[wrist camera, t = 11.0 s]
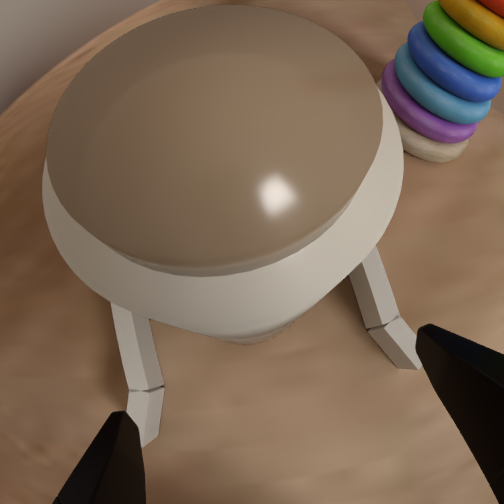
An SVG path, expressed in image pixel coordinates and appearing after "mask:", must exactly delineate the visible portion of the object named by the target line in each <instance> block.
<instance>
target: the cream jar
mask: <svg viewBox="0 0 504 504" xmlns="http://www.w3.org/2000/svg"><path fill="white" fill-rule="evenodd" d="M403 171H404V162H403V146H402V141H401V136H400V132H399V128H398V125H397V123H396V120H395V117H394V115H393V112H392V110H391V108H390V106H389V105H388V103H387V101H386V99H385V97H384V96H383V94H382V93H381V91H380V90H379V89H378V87H377V86H376V84H375V81H374V79H373V77H372V75H371V73H370V72H369V70H368V69H367V67H366V65H365V64H364V63H363V61H362V60H361V59H360V58H359V57H358V55H357V54H356V53H355V52H354V51H353V50H352V49H351V48H350V47H349V46H348V45H347V44H346V43H344V42H343V41H342V40H341V39H339V38H338V37H337V36H335V35H334V34H333V33H331V32H330V31H328V30H326V29H324V28H323V27H321V26H319V25H317V24H315V23H313V22H311V21H309V20H306V19H304V18H302V17H299V16H296V15H293V14H290V13H287V12H284V11H279V10H275V9H271V8H265V7H258V6H248V5H216V6H206V7H199V8H194V9H188V10H184V11H180V12H176V13H172V14H169V15H166V16H163V17H160V18H157V19H155V20H152V21H150V22H148V23H145V24H143V25H141V26H139V27H137V28H135V29H133V30H131V31H129V32H128V33H126V34H124V35H122V36H121V37H119V38H118V39H116V40H115V41H113V42H112V43H110V44H109V45H108V46H106V47H105V48H104V49H103V50H101V51H100V52H99V53H98V54H97V55H95V56H94V57H93V58H92V59H91V60H90V61H89V62H88V63H87V64H86V65H85V66H84V67H83V68H82V69H81V71H80V72H79V73H78V74H77V75H76V77H75V78H74V79H73V80H72V82H71V83H70V85H69V86H68V88H67V89H66V91H65V92H64V94H63V96H62V97H61V99H60V101H59V103H58V105H57V107H56V110H55V112H54V115H53V118H52V121H51V123H50V128H49V133H48V137H47V149H46V159H45V164H44V171H43V178H42V199H43V206H44V213H45V218H46V221H47V225H48V228H49V231H50V234H51V237H52V239H53V241H54V243H55V245H56V247H57V249H58V251H59V253H60V254H61V256H62V257H63V259H64V260H65V261H66V263H67V264H68V265H69V267H70V268H71V269H72V271H73V272H74V273H75V274H76V275H77V276H78V277H79V278H80V279H81V280H82V281H83V282H84V283H85V284H86V285H87V286H88V287H90V288H91V289H92V290H93V291H95V292H96V293H98V294H99V295H101V296H102V297H104V298H105V299H107V300H108V301H110V302H111V303H113V304H115V305H117V306H119V307H122V308H124V309H126V310H128V311H130V312H133V313H135V314H137V315H140V316H143V317H146V318H149V319H152V320H155V321H158V322H162V323H165V324H168V325H171V326H174V327H178V328H181V329H184V330H188V331H191V332H194V333H198V334H201V335H205V336H208V337H212V338H215V339H219V340H223V341H226V342H230V343H235V344H242V345H251V344H258V343H262V342H265V341H268V340H270V339H272V338H274V337H276V336H277V335H279V334H280V333H282V332H283V331H284V330H285V329H287V328H288V327H289V326H290V325H291V324H292V323H294V322H295V321H296V320H297V319H298V318H300V317H301V316H302V315H303V314H304V313H305V312H307V311H308V310H309V309H310V308H311V307H312V306H314V305H315V304H316V303H317V302H318V301H319V300H320V299H322V298H323V297H324V296H325V295H326V294H327V293H328V292H330V291H331V290H332V289H333V288H334V287H335V286H336V285H337V284H338V283H340V282H341V281H342V280H343V279H344V278H345V277H346V276H347V275H348V274H349V273H350V272H351V271H352V270H353V269H354V268H355V267H357V266H358V265H359V264H360V263H361V262H362V261H363V260H364V259H365V258H366V257H367V256H368V254H369V253H370V252H371V250H372V249H373V248H374V246H375V245H376V243H377V242H378V241H379V239H380V238H381V237H382V235H383V234H384V232H385V230H386V228H387V226H388V224H389V222H390V220H391V218H392V216H393V214H394V212H395V208H396V205H397V202H398V199H399V195H400V192H401V187H402V179H403Z"/></svg>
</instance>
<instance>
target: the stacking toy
mask: <svg viewBox="0 0 504 504" xmlns="http://www.w3.org/2000/svg"><path fill="white" fill-rule="evenodd" d="M503 76H504V0H437V1H433V2H431V3H430V4H428V6H427V7H426V8H425V11H424V14H423V21H422V22H419V23H417V24H416V25H414V26H413V27H412V29H411V30H410V32H409V34H408V42H406V43H404V44H403V45H402V46H401V47H400V48H399V49H398V51H397V53H396V55H395V59H393V60H392V61H390V62H389V63H388V64H387V65H386V67H385V69H384V71H383V74H382V78H381V79H380V80H379V81H378V82H377V83H376V86H377V87H378V89H379V90H380V91H381V93H382V94H383V96H384V97H385V99H386V101H387V103H388V105H389V106H390V108H391V110H392V112H393V115H394V117H395V120H396V123H397V125H398V128H399V132H400V136H401V141H402V146H403V150H404V151H406V152H408V153H409V154H411V155H413V156H415V157H418V158H420V159H423V160H426V161H431V162H439V163H441V162H448V161H451V160H454V159H456V158H457V157H459V156H460V155H461V154H462V153H463V152H464V150H465V148H466V147H467V144H468V140H469V137H471V136H472V135H473V133H474V132H475V131H476V129H477V126H478V122H479V121H481V120H482V119H483V118H484V117H485V116H486V115H487V113H488V112H489V109H490V105H491V99H492V98H494V97H495V96H496V95H497V93H498V92H499V90H500V87H501V77H503Z"/></svg>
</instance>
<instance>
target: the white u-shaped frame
mask: <svg viewBox="0 0 504 504" xmlns="http://www.w3.org/2000/svg"><path fill="white" fill-rule="evenodd" d="M348 275H349V277H350V280H351V283H352V286H353V289H354V292H355V296H356V299H357V302H358V305H359V308H360V311H361V314H362V318H363V321H364V324H365V327H366V329H367V328H371V329H370V330H369V331H368V333H369V334H370V336H371V337H372V338H373V339H374V340H375V342H376V343H377V344H378V345H379V346H380V347H381V349H382V350H383V351H384V352H385V353H386V355H387V356H388V357H389V358H390V359H391V361H392V362H393V363H394V364H395V365H396V367H397V368H399V369H412V370H419V369H420V368H421V366H422V363H421V361H420V359H419V357H418V355H417V353H416V350H415V344H416V338H417V336H416V335H415V334H414V332H413V331H412V330H411V329H410V328H409V326H408V325H407V324H406V323H405V321H404V320H403V319H402V318H401V317H400V314H399V311H398V308H397V305H396V302H395V299H394V296H393V293H392V290H391V287H390V284H389V281H388V278H387V275H386V272H385V269H384V266H383V264H382V261H381V258H380V255H379V253H378V250H377V247H376V245H375V246H374V248H373V249H372V250H371V252H370V253H369V254H368V256H367V257H366V258H365V259H364V260H363V261H362V262H361V263H360V264H359V265H358V266H357V267H355V268H354V269H353V270H352V271H351V272H350V273H349V274H348ZM111 308H112V314H113V320H114V325H115V330H116V335H117V340H118V345H119V350H120V354H121V359H122V363H123V368H124V372H125V376H126V380H127V384H128V388H129V396H128V404H127V413H128V415H129V416H130V417H131V418H132V420H133V421H134V422H135V423H136V425H137V426H138V428H139V433H140V441H141V447H144V446H145V445H147V444H148V443H149V442H150V441H152V440H153V439H154V438H156V437H157V436H158V434H159V426H160V418H161V411H162V404H163V397H164V390H165V388H164V387H159V386H162V385H164V381H163V378H162V374H161V370H160V366H159V362H158V358H157V354H156V349H155V345H154V341H153V336H152V332H151V327H150V323H149V318H146V317H143V316H140V315H137V314H135V313H133V312H130V311H128V310H126V309H124V308H122V307H119V306H117V305H115V304H113V303H111Z"/></svg>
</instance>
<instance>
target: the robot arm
mask: <svg viewBox="0 0 504 504" xmlns="http://www.w3.org/2000/svg"><path fill="white" fill-rule="evenodd" d="M415 350H416V353H417V355H418V357H419V359H420V361H421V363H422V365H423V367H424V369H425V371H426V374H427V376H428V378H429V380H430V382H431V384H432V386H433V388H434V390H435V392H436V393H437V395H438V397H439V398H440V400H441V401H442V403H443V405H444V406H445V408H446V410H447V411H448V413H449V414H450V416H451V418H452V419H453V421H454V423H455V424H456V426H457V428H458V429H459V431H460V433H461V435H462V436H463V438H464V440H465V441H466V443H467V445H468V447H469V448H470V450H471V452H472V454H473V455H474V457H475V459H476V461H477V463H478V464H479V466H480V468H481V470H482V472H483V474H484V475H485V477H486V479H487V481H488V483H489V485H490V487H491V489H492V491H493V493H494V495H495V497H496V499H497V501H498V503H499V504H504V354H501V353H499V352H497V351H494V350H492V349H490V348H487V347H485V346H483V345H480V344H478V343H476V342H473V341H471V340H469V339H466V338H464V337H461V336H459V335H457V334H454V333H452V332H450V331H447V330H445V329H443V328H440V327H438V326H436V325H433V324H426V325H424V326H422V327H420V328H419V329H418V331H417V338H416V344H415ZM52 504H146V490H145V472H144V464H143V457H142V449H141V441H140V433H139V428H138V426H137V425H136V423H135V422H134V421H133V420H132V418H131V417H130V416H129V415H128V413H127V412H125V411H115V412H112V413H111V414H110V416H109V417H108V419H107V420H106V422H105V423H104V425H103V426H102V428H101V429H100V431H99V432H98V434H97V435H96V437H95V438H94V440H93V441H92V443H91V444H90V446H89V447H88V449H87V451H86V452H85V454H84V455H83V457H82V458H81V460H80V461H79V463H78V464H77V466H76V467H75V469H74V470H73V472H72V474H71V475H70V477H69V478H68V480H67V481H66V483H65V484H64V486H63V488H62V489H61V491H60V492H59V494H58V497H56V498H55V500H54V502H53V503H52Z"/></svg>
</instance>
